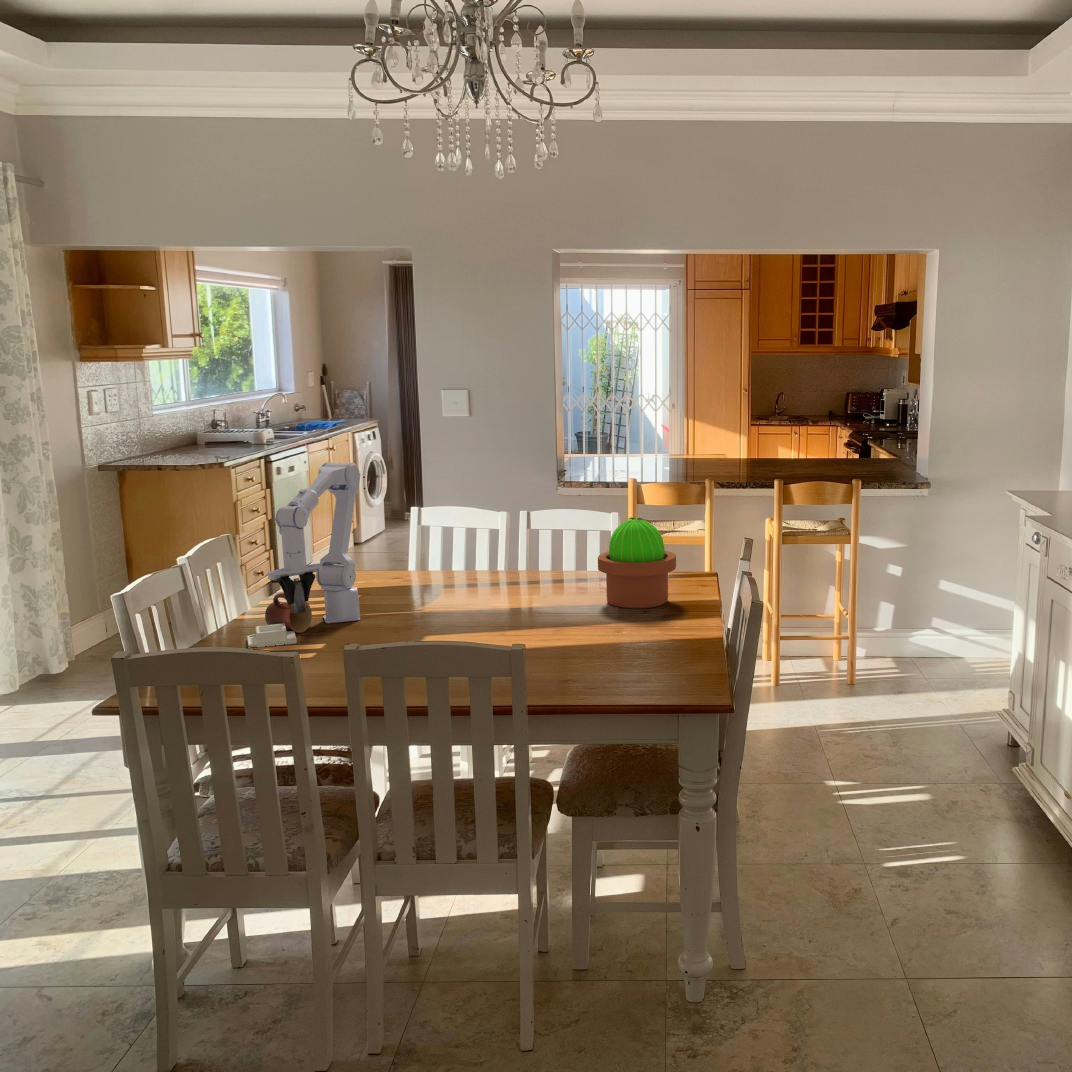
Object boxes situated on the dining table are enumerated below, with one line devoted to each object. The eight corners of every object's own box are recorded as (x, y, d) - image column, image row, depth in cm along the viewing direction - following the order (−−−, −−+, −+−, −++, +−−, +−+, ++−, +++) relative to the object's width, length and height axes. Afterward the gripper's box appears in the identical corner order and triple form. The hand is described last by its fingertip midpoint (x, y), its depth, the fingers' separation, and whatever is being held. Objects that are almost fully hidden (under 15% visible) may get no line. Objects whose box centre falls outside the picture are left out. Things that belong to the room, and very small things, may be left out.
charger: (294, 634, 267) (293, 621, 267) (296, 643, 259) (295, 630, 258) (247, 639, 264) (246, 626, 263) (248, 648, 255) (247, 635, 255)
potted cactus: (650, 615, 275) (649, 525, 271) (584, 605, 288) (582, 519, 284) (689, 598, 292) (688, 513, 288) (625, 589, 305) (624, 508, 301)
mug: (288, 617, 279) (316, 618, 274) (269, 637, 273) (298, 639, 268) (270, 583, 273) (298, 584, 268) (251, 603, 267) (279, 604, 262)
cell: (306, 609, 265) (304, 576, 264) (305, 612, 261) (303, 579, 260) (291, 610, 265) (289, 577, 263) (290, 613, 261) (288, 580, 259)
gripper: (312, 545, 268) (316, 595, 270) (261, 553, 259) (265, 604, 261) (324, 549, 262) (328, 599, 265) (272, 557, 253) (276, 609, 256)
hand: (297, 602), depth 263 cm, fingers closed on cell, 4 cm apart
